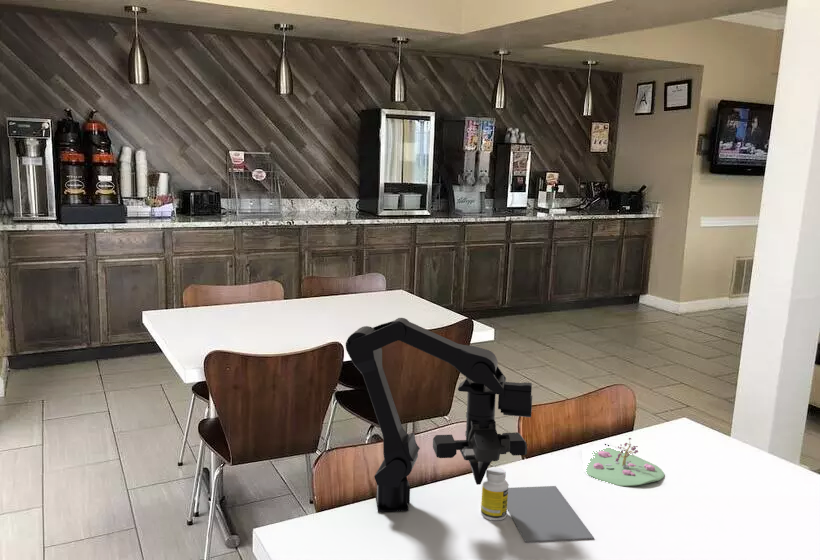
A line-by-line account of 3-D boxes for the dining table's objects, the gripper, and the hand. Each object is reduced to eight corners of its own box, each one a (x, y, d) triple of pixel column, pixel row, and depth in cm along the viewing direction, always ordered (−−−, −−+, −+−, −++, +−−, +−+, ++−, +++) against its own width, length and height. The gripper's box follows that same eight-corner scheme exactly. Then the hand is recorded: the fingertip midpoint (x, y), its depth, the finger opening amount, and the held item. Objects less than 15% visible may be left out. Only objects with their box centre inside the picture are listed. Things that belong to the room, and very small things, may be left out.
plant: (553, 450, 174) (555, 417, 173) (620, 442, 181) (623, 410, 179) (608, 494, 151) (611, 457, 149) (683, 483, 157) (687, 447, 156)
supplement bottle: (505, 523, 136) (508, 478, 135) (479, 519, 137) (481, 475, 136) (507, 510, 141) (509, 467, 140) (482, 507, 142) (484, 464, 141)
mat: (525, 542, 129) (525, 541, 129) (496, 489, 150) (496, 488, 150) (594, 539, 131) (594, 537, 131) (555, 487, 152) (555, 485, 152)
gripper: (442, 428, 126) (440, 504, 128) (537, 425, 128) (533, 500, 131) (433, 408, 137) (431, 478, 139) (520, 405, 139) (517, 475, 142)
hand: (478, 483), depth 138 cm, fingers closed
